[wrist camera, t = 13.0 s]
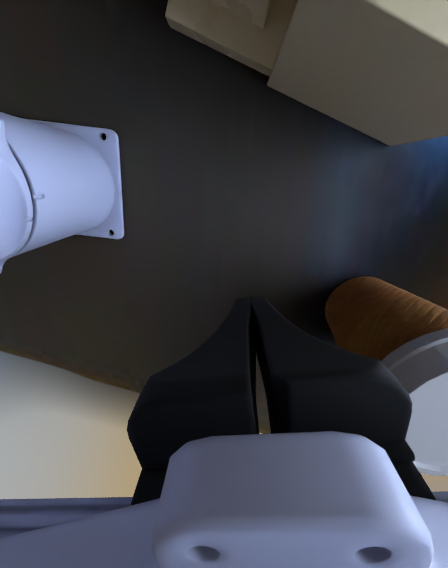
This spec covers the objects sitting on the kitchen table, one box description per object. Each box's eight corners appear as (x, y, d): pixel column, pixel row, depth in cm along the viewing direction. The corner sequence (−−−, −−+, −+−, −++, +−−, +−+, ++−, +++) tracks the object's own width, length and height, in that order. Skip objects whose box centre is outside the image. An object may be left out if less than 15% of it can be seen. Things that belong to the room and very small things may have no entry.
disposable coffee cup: (333, 247, 21) (447, 326, 10) (433, 274, 21) (646, 376, 10) (292, 334, 24) (341, 463, 13) (378, 355, 25) (491, 493, 14)
